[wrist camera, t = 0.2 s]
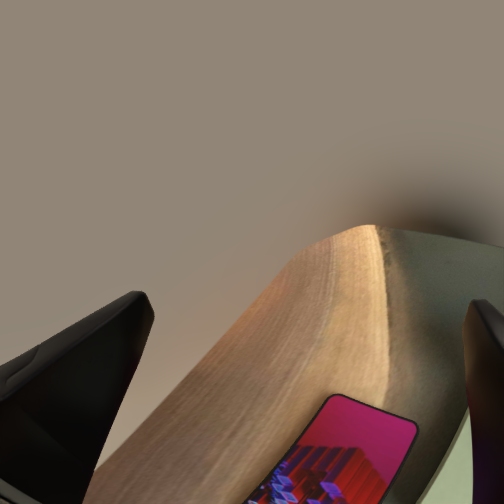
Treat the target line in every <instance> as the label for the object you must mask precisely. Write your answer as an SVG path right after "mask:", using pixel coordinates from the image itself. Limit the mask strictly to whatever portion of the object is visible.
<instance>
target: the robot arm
mask: <svg viewBox="0 0 504 504" xmlns="http://www.w3.org/2000/svg"><path fill="white" fill-rule="evenodd" d="M154 317H155V316H154V311H153V308H152V306H151V304H150V302H149V300H148V297H147V295H146V294H145V293H144V292H142V291H131V292H129V293H127V294H126V295H124V296H122V297H120V298H118V299H117V300H115V301H113V302H111V303H110V304H108V305H106V306H105V307H103V308H101V309H99V310H97V311H95V312H94V313H92V314H90V315H89V316H87V317H85V318H83V319H82V320H80V321H78V322H76V323H75V324H73V325H71V326H70V327H68V328H66V329H64V330H63V331H61V332H60V333H57V334H56V335H54V336H52V337H51V338H49V339H47V340H46V341H44V342H42V343H41V344H40V345H37V346H35V347H34V348H32V349H30V350H29V351H27V352H25V353H23V354H22V355H20V356H18V357H16V358H14V359H12V360H10V361H9V362H7V363H5V364H3V365H1V366H0V504H82V503H83V500H84V497H85V494H86V492H87V489H88V486H89V483H90V481H91V478H92V475H93V473H94V469H95V467H96V464H97V462H98V459H99V457H100V454H101V451H102V449H103V447H104V444H105V442H106V439H107V436H108V434H109V432H110V429H111V427H112V424H113V422H114V420H115V417H116V415H117V412H118V410H119V407H120V405H121V403H122V401H123V398H124V396H125V394H126V391H127V389H128V387H129V384H130V382H131V380H132V378H133V375H134V373H135V371H136V369H137V366H138V364H139V362H140V359H141V356H142V353H143V350H144V347H145V345H146V342H147V339H148V336H149V333H150V330H151V327H152V324H153V321H154ZM462 335H463V345H464V358H465V376H466V388H467V397H468V405H469V414H470V425H471V438H472V460H473V493H472V504H504V315H503V314H502V313H500V312H499V311H498V310H497V309H496V308H495V307H494V306H493V305H492V304H491V303H489V302H488V301H487V300H486V299H474V300H472V301H471V302H470V304H469V307H468V310H467V313H466V316H465V319H464V322H463V326H462Z"/></svg>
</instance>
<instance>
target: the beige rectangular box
mask: <svg viewBox="0 0 504 504" xmlns="http://www.w3.org/2000/svg"><path fill="white" fill-rule="evenodd" d="M472 493H473V460H472V438H471V425H470V414H469V406H468V408H467V410H466V413H465V415H464V417H463V419H462V422H461V424H460V426H459V428H458V430H457V432H456V434H455V436H454V438H453V440H452V442H451V444H450V446H449V448H448V450H447V452H446V454H445V456H444V457H443V459H442V461H441V463H440V465H439V466H438V468H437V470H436V472H435V473H434V475H433V477H432V478H431V480H430V482H429V483H428V485H427V486H426V488H425V490H424V491H423V493H422V494H421V496H420V497H419V499H418V500H417V502H416V503H415V504H472Z"/></svg>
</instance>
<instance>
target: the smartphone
mask: <svg viewBox="0 0 504 504" xmlns="http://www.w3.org/2000/svg"><path fill="white" fill-rule="evenodd" d="M418 434H419V426H418V425H417V423H416V422H414V421H413V420H410V419H407V418H404V417H401V416H398V415H395V414H392V413H390V412H387V411H384V410H381V409H379V408H376V407H373V406H371V405H368V404H365V403H363V402H360V401H358V400H355V399H353V398H350V397H348V396H345V395H343V394H333V395H331V396H329V397H328V398H327V399H326V400H325V402H324V403H323V404H322V406H321V407H320V409H319V410H318V412H317V413H316V414H315V416H314V417H313V418H312V420H311V421H310V423H309V424H308V425H307V427H306V428H305V429H304V431H303V432H302V433H301V435H300V436H299V437H298V439H297V440H296V441H295V442H294V444H293V445H292V446H291V447H290V449H289V450H288V451H287V452H286V454H285V455H284V456H283V457H282V459H281V460H280V461H279V462H278V463H277V464H276V466H275V467H274V468H273V469H272V470H271V472H270V473H269V474H268V475H267V477H266V478H265V479H264V480H263V481H262V482H261V483H260V485H259V486H258V487H257V488H256V489H255V490H254V491H253V492H252V493H251V495H250V496H249V497H248V498H247V499H246V500H245V501H244V502H243V503H242V504H382V502H383V500H384V499H385V497H386V495H387V494H388V492H389V490H390V489H391V487H392V485H393V483H394V482H395V480H396V478H397V476H398V474H399V473H400V471H401V469H402V467H403V465H404V463H405V461H406V459H407V457H408V455H409V453H410V451H411V449H412V447H413V445H414V443H415V441H416V439H417V437H418Z"/></svg>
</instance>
